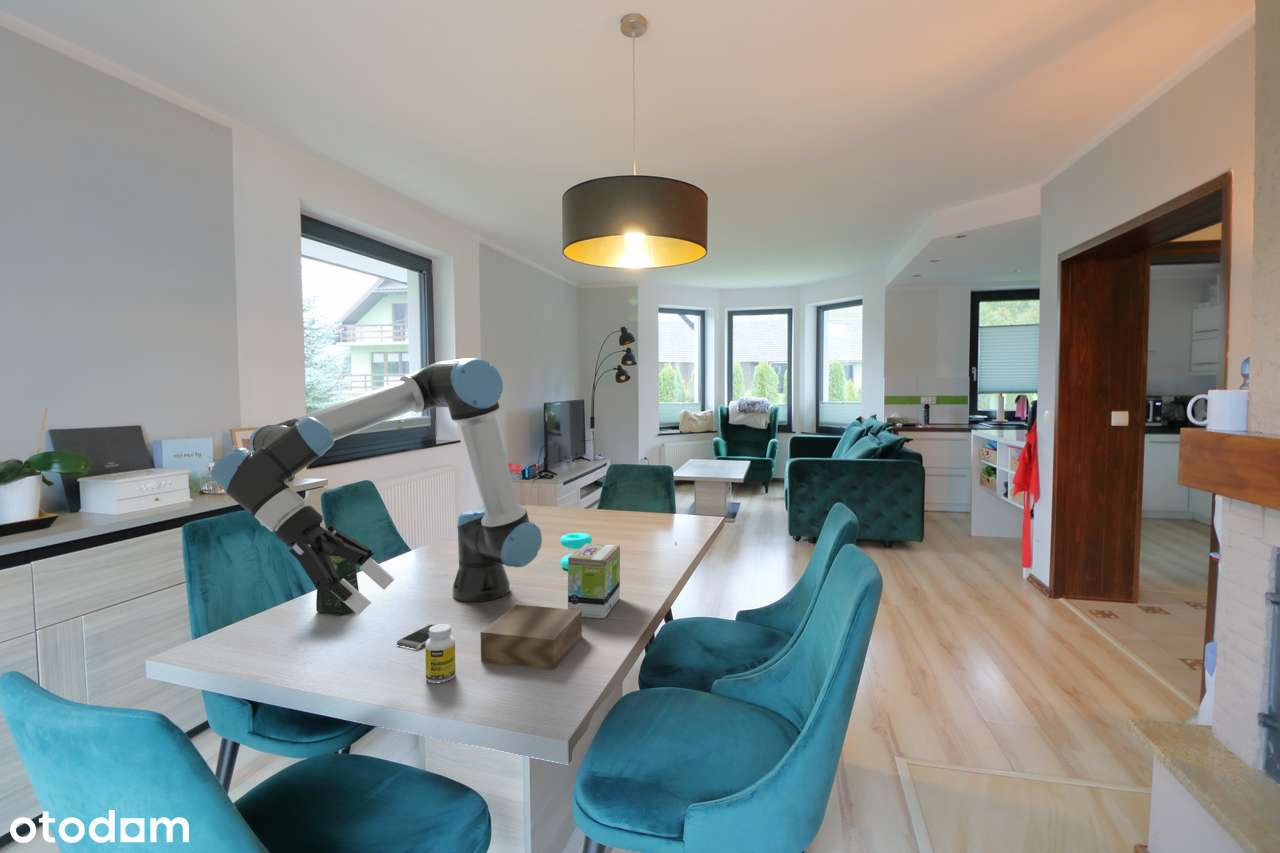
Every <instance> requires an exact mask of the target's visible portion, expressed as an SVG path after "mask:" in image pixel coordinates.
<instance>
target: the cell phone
mask: <svg viewBox="0 0 1280 853" xmlns="http://www.w3.org/2000/svg"><path fill="white" fill-rule="evenodd" d="M434 625H435V624H428V625H426V626H425V627H422V628H420V629H418V630H416V631H414V632H412V633H410V634H408V635H406V636H404V637H402V638H401V639H399V640H397V641H396V646H397V645H399V646H405V647H409V648H414V649H418V648H420V649H422V648H424V647H425V646H424V645H425V644H426V641H427V640H428V639H429V638H430V637H429V628H430V627H432V626H434ZM423 646H424V647H423ZM421 647H422V648H421ZM418 650H419V649H418Z"/></svg>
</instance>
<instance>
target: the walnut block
mask: <svg viewBox="0 0 1280 853" xmlns="http://www.w3.org/2000/svg"><path fill="white" fill-rule="evenodd" d="M582 621H583V617H582V610H573V609H568V608H561V607H549V606H547V607H546V606H538V605H527V604H526V605H525V604H517V603H516V604H515V605H514V606H512V607H511V608H509V609H508V610H507V611H506V612H505V613H503V614H501V616H499V617H498V618H497V619H496V620H494V621H493V622H492V623H490V624H489V625H487V626H486V627H485V628H484V629H483V630H481V631H480V661H481V662H487V663H494V664H495V663H498V664H505V665H511V666H512V665H513V666H521V667H528V668H529V667H530V668H537V669H545V670H546V669H547V670H555V669H556V668H557V667H558V666H559V664H560V663H561V662H562V661H563V660H564V659H565V657H566V656H567V655H568V654H569V652H570V651H572V649H573V648H574V646H576V644H578V642H579V641H580V639H581V638H582V637H583V624H582Z"/></svg>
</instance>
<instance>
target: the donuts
mask: <svg viewBox="0 0 1280 853" xmlns="http://www.w3.org/2000/svg"><path fill="white" fill-rule="evenodd" d="M592 543H593V538H592V536H591V535H590V534H588V533H583V532H573V533H567V534H564V535H562V536H561V538H560V544H561V545H562V546H563V547H564V548H567V549H570V550H571V549H572V550H579V549H580V548H581V547H582V546H584V545H585V544H592ZM572 554H573V553H570V554H567V555H565V556H563V557H562V558H561V560H560V566H561V567H562V568H563V569H565V570H568V558H569V557H570V556H571V555H572Z"/></svg>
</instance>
